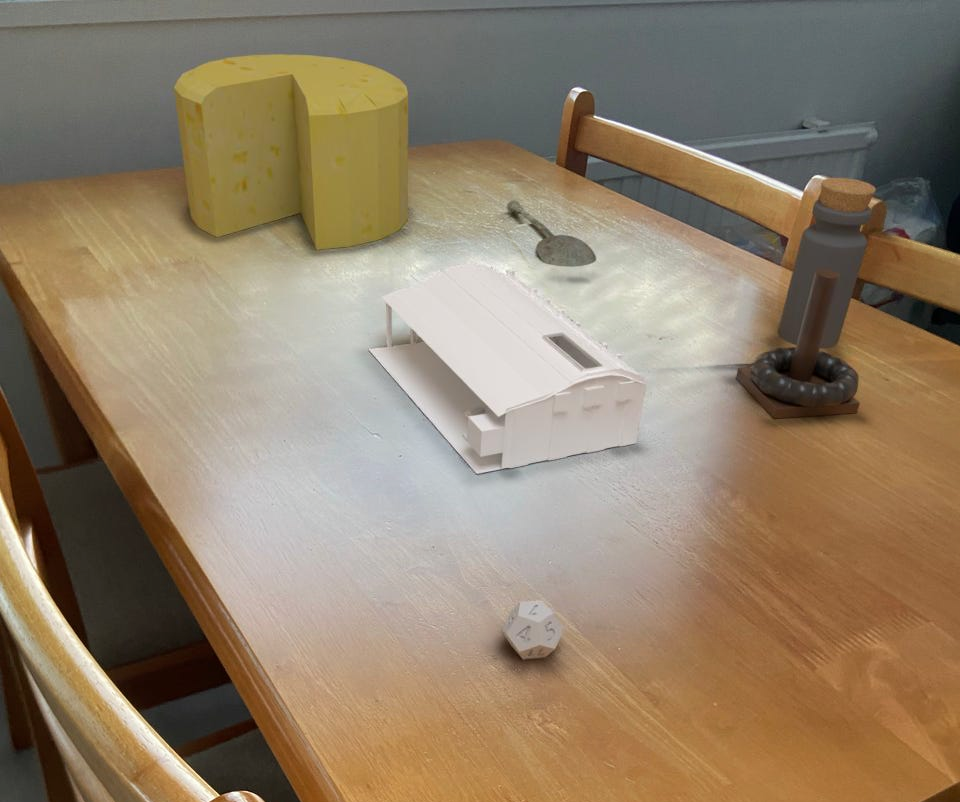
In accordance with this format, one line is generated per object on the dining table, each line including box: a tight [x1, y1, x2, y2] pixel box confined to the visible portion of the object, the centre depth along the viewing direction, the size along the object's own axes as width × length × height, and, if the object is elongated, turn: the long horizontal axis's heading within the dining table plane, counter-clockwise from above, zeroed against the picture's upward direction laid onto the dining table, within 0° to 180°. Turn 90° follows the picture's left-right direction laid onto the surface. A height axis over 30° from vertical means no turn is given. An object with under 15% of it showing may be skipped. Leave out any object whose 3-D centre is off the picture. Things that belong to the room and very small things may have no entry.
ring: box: [751, 346, 860, 407], centre depth 89 cm, size 9×9×2 cm
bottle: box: [777, 177, 876, 350], centre depth 95 cm, size 6×6×15 cm
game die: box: [501, 599, 564, 661], centre depth 61 cm, size 4×4×3 cm
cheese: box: [173, 53, 409, 251], centre depth 118 cm, size 26×26×15 cm
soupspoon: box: [506, 199, 597, 268], centre depth 118 cm, size 22×3×7 cm
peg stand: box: [735, 269, 860, 419], centre depth 87 cm, size 8×8×11 cm
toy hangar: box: [368, 262, 647, 475], centre depth 86 cm, size 25×15×7 cm, turn 25°
